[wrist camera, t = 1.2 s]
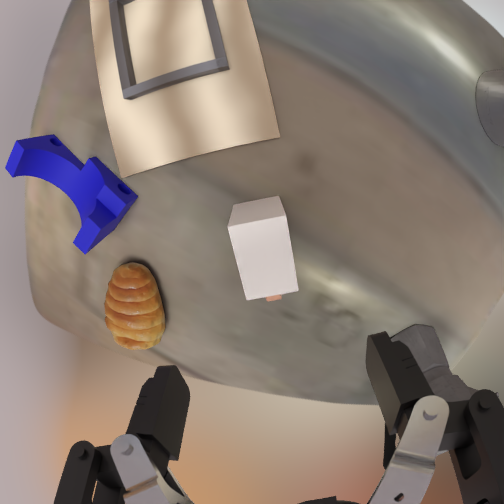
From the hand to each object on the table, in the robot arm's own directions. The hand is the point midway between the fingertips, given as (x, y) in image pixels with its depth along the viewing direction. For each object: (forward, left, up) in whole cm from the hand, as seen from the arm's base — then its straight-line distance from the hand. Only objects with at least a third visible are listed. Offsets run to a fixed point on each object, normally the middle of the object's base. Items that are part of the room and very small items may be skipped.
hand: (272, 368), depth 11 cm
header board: (+4, -18, -16) cm, 24 cm away
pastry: (+12, +4, -17) cm, 21 cm away
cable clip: (+16, -10, -16) cm, 25 cm away
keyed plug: (0, 0, -16) cm, 16 cm away
